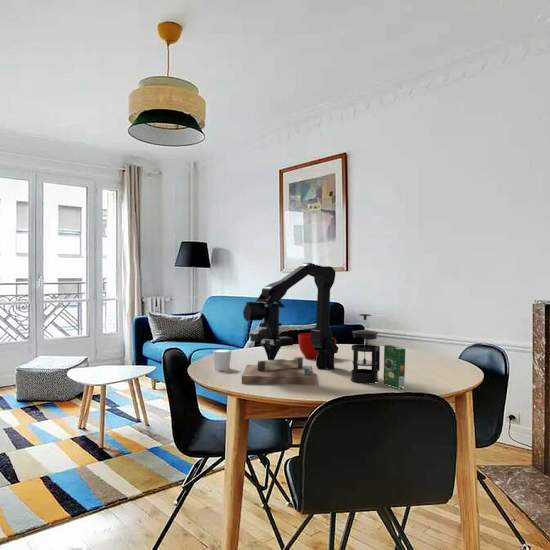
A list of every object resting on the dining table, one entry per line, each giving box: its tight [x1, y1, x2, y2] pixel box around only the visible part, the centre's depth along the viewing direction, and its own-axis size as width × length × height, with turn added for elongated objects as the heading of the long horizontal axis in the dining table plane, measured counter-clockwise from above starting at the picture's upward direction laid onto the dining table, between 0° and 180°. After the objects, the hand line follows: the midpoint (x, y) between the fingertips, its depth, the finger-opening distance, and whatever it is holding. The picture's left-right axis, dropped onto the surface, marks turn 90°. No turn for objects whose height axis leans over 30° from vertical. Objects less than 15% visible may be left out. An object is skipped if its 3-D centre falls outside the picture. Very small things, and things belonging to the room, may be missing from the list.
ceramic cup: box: [297, 332, 337, 360], centre depth 208 cm, size 13×17×10 cm
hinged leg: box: [257, 356, 304, 371], centre depth 168 cm, size 18×3×3 cm, turn 118°
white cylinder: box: [212, 349, 232, 371], centre depth 179 cm, size 7×7×7 cm
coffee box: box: [383, 344, 406, 388], centre depth 153 cm, size 8×3×13 cm, turn 23°
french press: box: [350, 313, 381, 385], centre depth 162 cm, size 12×9×23 cm
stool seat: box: [241, 364, 315, 386], centre depth 165 cm, size 24×20×4 cm
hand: (270, 362), depth 171 cm, fingers closed
